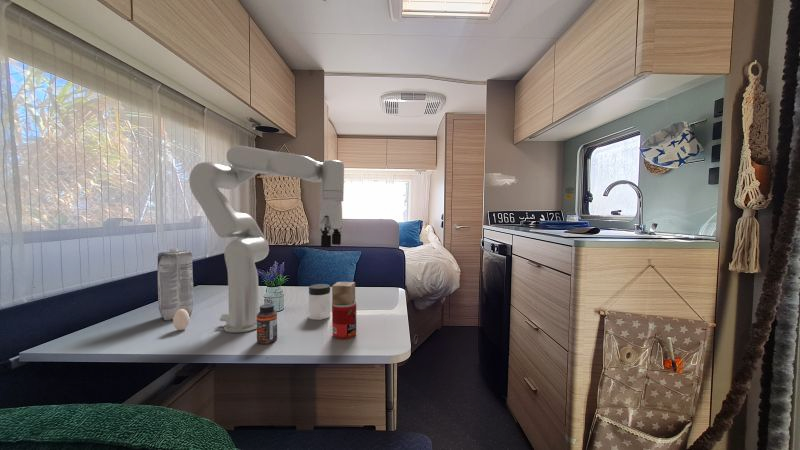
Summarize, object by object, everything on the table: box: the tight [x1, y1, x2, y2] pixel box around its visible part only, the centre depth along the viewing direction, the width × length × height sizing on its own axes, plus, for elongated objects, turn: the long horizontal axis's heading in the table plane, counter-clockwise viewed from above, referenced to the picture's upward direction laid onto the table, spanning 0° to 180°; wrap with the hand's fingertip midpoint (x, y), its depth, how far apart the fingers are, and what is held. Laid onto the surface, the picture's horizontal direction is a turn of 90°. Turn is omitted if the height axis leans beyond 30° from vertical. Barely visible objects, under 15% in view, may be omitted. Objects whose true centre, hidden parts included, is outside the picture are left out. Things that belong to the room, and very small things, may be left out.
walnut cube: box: [331, 281, 356, 305], centre depth 99 cm, size 6×6×6 cm
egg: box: [172, 309, 191, 331], centre depth 104 cm, size 5×5×7 cm
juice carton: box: [156, 247, 194, 321], centre depth 119 cm, size 9×10×27 cm
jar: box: [308, 283, 331, 321], centre depth 118 cm, size 9×8×12 cm
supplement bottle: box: [256, 303, 278, 345], centre depth 95 cm, size 6×6×11 cm
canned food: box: [331, 300, 357, 340], centre depth 99 cm, size 8×8×11 cm
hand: (331, 245), depth 104 cm, fingers open, 9 cm apart
